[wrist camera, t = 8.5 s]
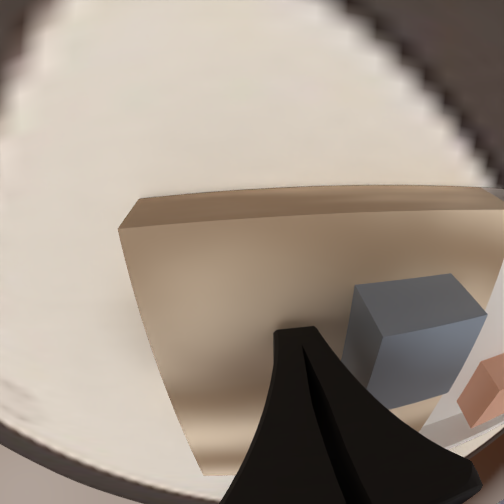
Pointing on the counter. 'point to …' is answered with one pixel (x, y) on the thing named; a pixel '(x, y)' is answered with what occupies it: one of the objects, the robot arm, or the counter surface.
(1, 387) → the counter surface
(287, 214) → the oak board
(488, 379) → the terracotta block
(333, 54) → the counter surface
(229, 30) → the counter surface
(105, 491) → the counter surface
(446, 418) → the box
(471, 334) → the slate tile
